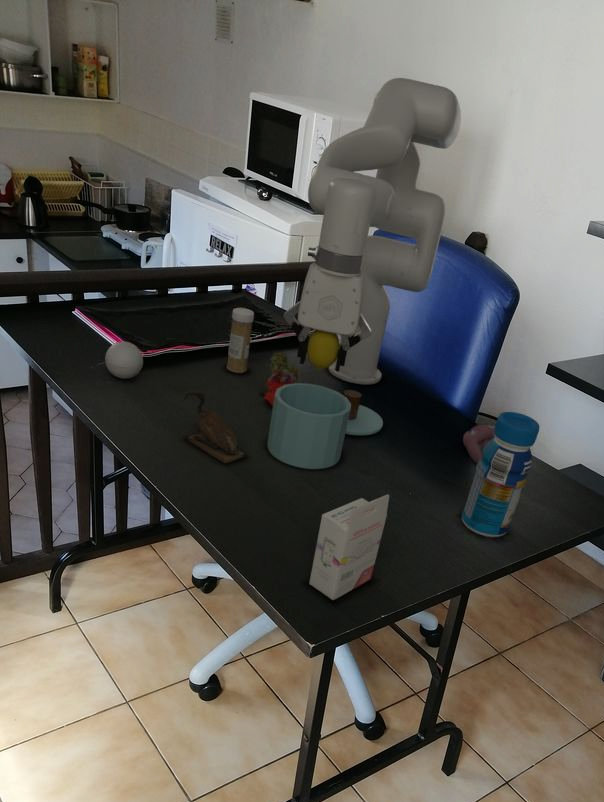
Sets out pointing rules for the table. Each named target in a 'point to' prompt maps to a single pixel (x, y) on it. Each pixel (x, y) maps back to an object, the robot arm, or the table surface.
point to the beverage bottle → (501, 475)
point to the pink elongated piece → (478, 440)
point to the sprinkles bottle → (240, 340)
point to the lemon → (322, 349)
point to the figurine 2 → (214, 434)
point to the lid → (361, 416)
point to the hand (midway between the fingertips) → (320, 364)
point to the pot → (308, 425)
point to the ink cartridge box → (348, 546)
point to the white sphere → (124, 360)
